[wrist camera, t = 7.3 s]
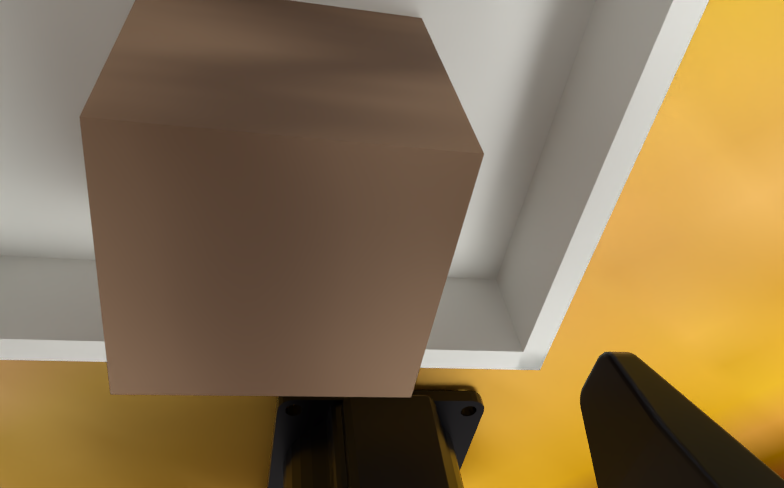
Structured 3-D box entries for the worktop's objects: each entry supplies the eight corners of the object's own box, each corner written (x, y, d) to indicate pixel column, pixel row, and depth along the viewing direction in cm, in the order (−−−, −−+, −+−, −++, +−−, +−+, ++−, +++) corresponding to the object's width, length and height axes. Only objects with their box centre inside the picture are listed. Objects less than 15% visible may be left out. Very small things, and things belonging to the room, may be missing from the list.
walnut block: (421, 17, 13) (483, 154, 9) (378, 227, 16) (411, 397, 12) (143, -20, 12) (79, 116, 8) (154, 213, 15) (110, 394, 11)
